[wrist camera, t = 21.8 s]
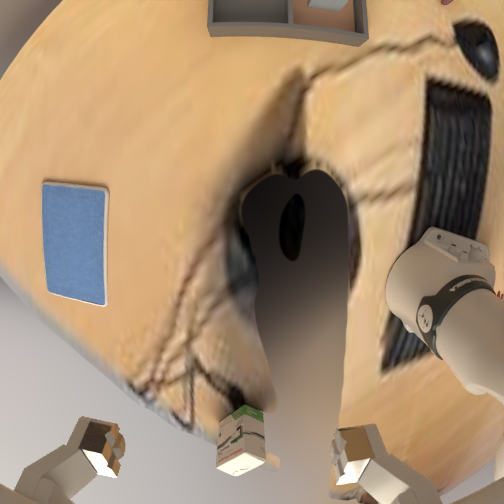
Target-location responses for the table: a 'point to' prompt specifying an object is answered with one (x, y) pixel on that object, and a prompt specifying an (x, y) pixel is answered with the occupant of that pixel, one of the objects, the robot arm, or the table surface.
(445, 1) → the video game controller
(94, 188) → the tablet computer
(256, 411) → the ink box
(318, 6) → the capped bottle
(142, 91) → the table surface
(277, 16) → the organizer
